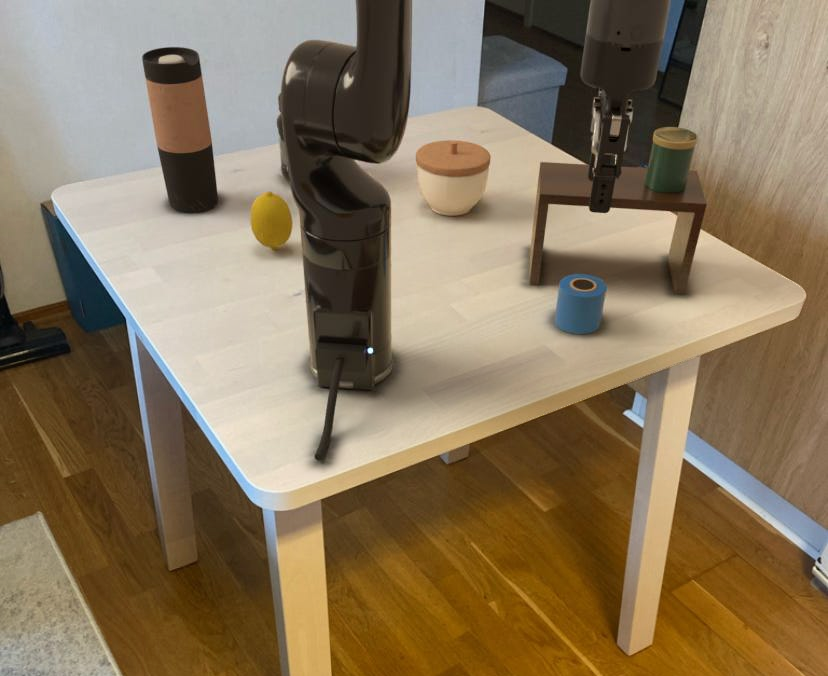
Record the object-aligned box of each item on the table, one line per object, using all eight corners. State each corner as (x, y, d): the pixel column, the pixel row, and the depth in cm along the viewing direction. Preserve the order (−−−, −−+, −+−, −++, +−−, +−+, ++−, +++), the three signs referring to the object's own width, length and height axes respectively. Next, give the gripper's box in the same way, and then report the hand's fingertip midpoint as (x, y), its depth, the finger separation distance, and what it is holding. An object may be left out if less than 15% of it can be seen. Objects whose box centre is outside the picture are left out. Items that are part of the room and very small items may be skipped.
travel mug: (163, 196, 134) (136, 49, 120) (213, 189, 136) (193, 44, 122) (173, 217, 129) (146, 66, 115) (225, 209, 131) (205, 60, 117)
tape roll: (601, 335, 108) (608, 297, 104) (554, 332, 108) (559, 294, 105) (599, 312, 112) (605, 274, 108) (554, 309, 112) (559, 271, 109)
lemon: (287, 261, 120) (282, 203, 114) (248, 256, 121) (241, 198, 115) (299, 242, 124) (295, 185, 118) (261, 238, 125) (255, 181, 119)
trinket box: (490, 195, 136) (495, 131, 129) (482, 226, 129) (486, 160, 122) (421, 189, 137) (422, 125, 131) (408, 219, 130) (409, 153, 123)
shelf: (684, 294, 115) (707, 203, 107) (529, 284, 116) (539, 193, 108) (676, 258, 122) (697, 170, 114) (530, 249, 124) (540, 161, 115)
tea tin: (688, 194, 109) (700, 144, 104) (645, 192, 109) (655, 141, 105) (684, 177, 112) (695, 127, 108) (642, 175, 113) (652, 125, 108)
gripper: (586, 9, 92) (564, 168, 103) (587, 48, 82) (563, 219, 93) (659, 14, 92) (629, 173, 103) (670, 53, 81) (635, 225, 93)
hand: (597, 195), depth 98 cm, fingers open, 8 cm apart
